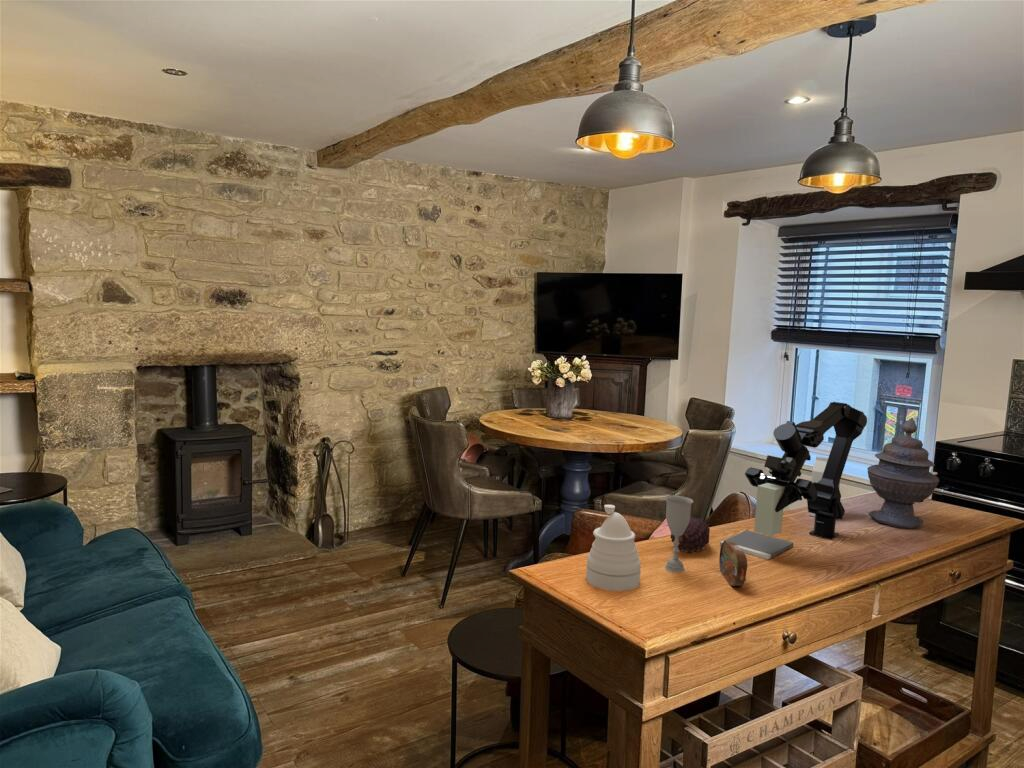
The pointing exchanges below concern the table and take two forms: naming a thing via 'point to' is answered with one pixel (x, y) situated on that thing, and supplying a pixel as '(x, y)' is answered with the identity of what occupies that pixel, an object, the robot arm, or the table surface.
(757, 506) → the sage block
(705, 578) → the table surface
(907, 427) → the decorative urn
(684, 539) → the pine cone
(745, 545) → the mat
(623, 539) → the honey pot
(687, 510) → the chalice
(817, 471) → the milk carton
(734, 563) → the tin
